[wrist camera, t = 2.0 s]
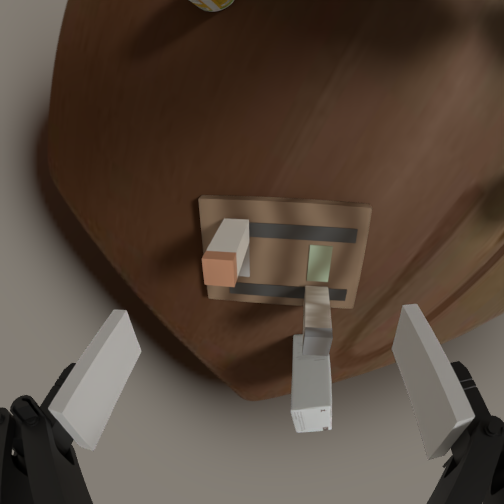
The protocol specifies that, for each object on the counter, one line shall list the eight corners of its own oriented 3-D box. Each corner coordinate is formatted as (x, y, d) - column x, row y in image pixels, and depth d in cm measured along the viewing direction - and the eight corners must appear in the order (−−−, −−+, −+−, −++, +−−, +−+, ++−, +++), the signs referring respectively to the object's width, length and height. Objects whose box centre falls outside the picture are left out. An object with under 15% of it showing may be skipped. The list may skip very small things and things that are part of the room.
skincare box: (292, 334, 50) (286, 408, 37) (328, 330, 48) (331, 406, 35) (298, 365, 53) (293, 434, 41) (330, 362, 52) (332, 432, 39)
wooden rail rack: (210, 292, 48) (188, 347, 37) (201, 195, 40) (167, 235, 29) (351, 302, 45) (361, 361, 34) (369, 203, 37) (394, 248, 26)
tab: (225, 240, 40) (204, 284, 32) (224, 218, 39) (201, 258, 30) (249, 242, 40) (234, 287, 31) (248, 219, 38) (233, 260, 30)
